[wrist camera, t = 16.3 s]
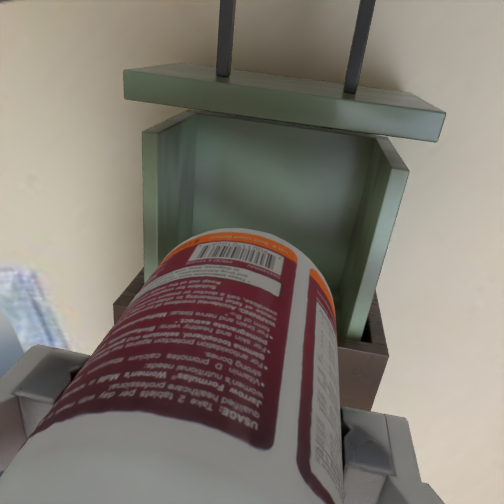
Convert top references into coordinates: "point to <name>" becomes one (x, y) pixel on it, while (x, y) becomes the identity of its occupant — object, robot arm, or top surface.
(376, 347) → the cabinet
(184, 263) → the pill bottle
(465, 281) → the top surface
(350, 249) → the drawer
